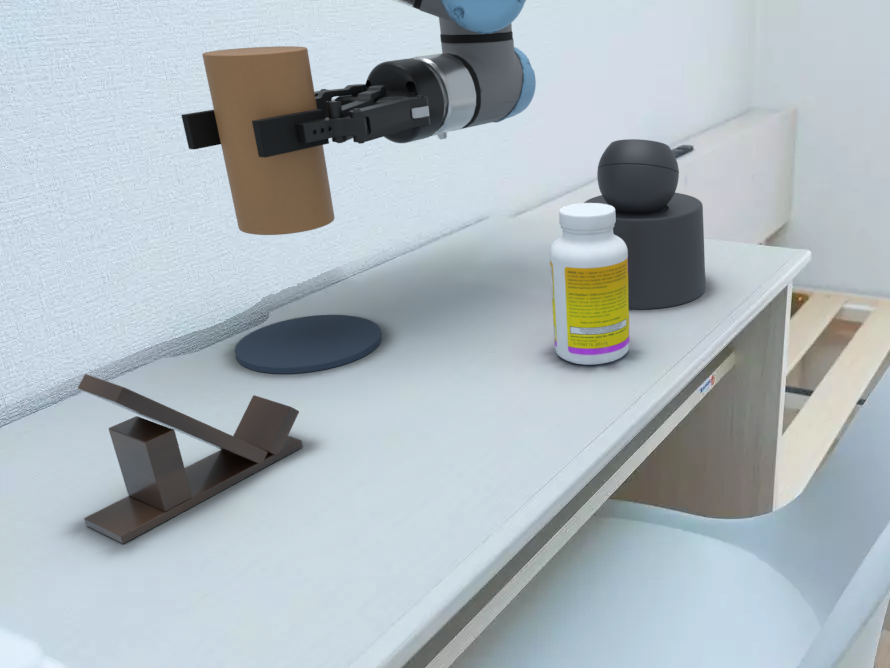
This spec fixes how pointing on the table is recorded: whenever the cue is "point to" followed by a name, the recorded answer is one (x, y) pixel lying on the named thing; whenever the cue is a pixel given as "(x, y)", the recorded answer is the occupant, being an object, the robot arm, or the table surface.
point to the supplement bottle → (589, 286)
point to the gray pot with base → (653, 223)
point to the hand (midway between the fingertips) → (222, 135)
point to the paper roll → (252, 177)
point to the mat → (308, 344)
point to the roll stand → (160, 463)
